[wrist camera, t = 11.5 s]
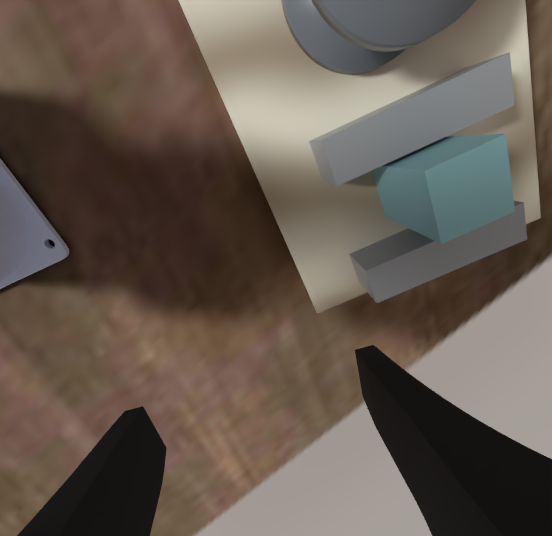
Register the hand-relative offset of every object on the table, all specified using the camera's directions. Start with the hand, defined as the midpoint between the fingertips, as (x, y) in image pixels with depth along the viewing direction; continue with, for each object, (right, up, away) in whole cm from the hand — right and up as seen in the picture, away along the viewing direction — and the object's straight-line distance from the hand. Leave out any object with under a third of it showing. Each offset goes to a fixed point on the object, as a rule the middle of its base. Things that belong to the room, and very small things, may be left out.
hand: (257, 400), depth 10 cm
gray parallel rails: (+8, +9, +6) cm, 13 cm away
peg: (+7, +9, +6) cm, 13 cm away
